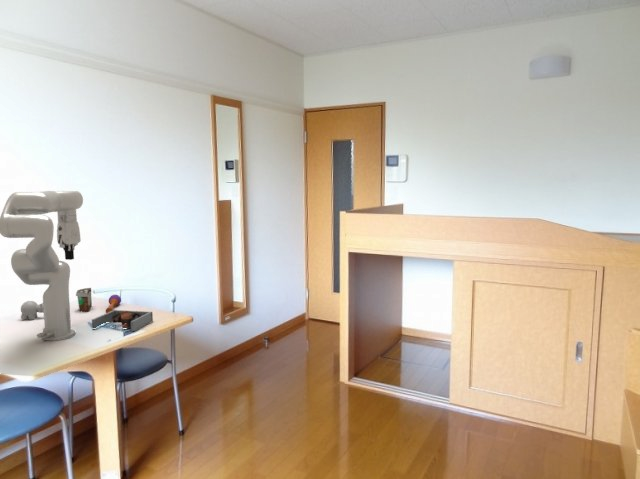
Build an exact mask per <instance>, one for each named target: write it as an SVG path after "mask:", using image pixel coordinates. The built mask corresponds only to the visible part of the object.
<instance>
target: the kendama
mask: <svg viewBox="0 0 640 479" xmlns="http://www.w3.org/2000/svg"><path fill="white" fill-rule="evenodd" d="M121 302H122V298H121V296H120V295H118V294H112V295H110V297H109V298H108V304H109V306H108V307H107V308H106V309H105V314H106V313H108V312H110V311H113V310H114V308H115V307H118V306H119V305H120V304H121Z"/></svg>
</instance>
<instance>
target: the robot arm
mask: <svg viewBox="0 0 640 479" xmlns="http://www.w3.org/2000/svg"><path fill="white" fill-rule="evenodd" d="M83 204H84V198H83V195H82V193H81V192H80V191H77V190H45V191H16V192H13V193H11V194H10V196H8V198H7V200H6V202H5V204H4V207H3V209H2V212H1V214H0V235H1V236H2V237H4V238H8V239H17V238H18V239H23V238H24V239H26V238H27V239H28V238H29V239H30V238H32V239H31V240H30V242H29V243H28V244H27V245H26V246H25V248H21V249H16V250H15V251H14V252H13V253H12V256H11V258H10V266H11V269H12V271H13V273H15V275H16V276H17V277H18V278H19V279H20V281H22V283H24V284H25V285H29V286H36V285H37V286H39V285H40V286H42V285H43V286H44V285H48V286H47V288H46V290H45V291H44V292H43V294H42V303H43V310H44V313H43V321H44V323H43V325H44V327H43V328H42V331H41V332H38V333H37V334H36V337H37V339H41V340H44V341H59V340H64V339H68V338H69V339H70V338H73V336H75V334H76V330H75V329H73V328H72V324H71V321H72V320H71V305H70V287H69V286H70V278H71V277H70V275H71V268H70V265H69V263H67V262H66V261H63V260H60V259H59V256H58V255H57V253H56V251H55V250H54V248H53V247H52V244H53V240H54V233H55V232H54V223H53V219H51V218H50V217H49V216H47V215H46V214H49V213H55V212H56V213H57V229H56V239H57V240H56V242H57V244H58V246H59V248H61V249H63V251H64V257H65V258H64V259H65V260H68V261H69V260H70V261H72V260H74V259H75V254H74V251H75V247H76V246H78V245H79V244H80V242H81V232H80V231H81V230H80V226H79V223H78V220H77V219H78V218H77V210H78V209H80V208H82V205H83Z"/></svg>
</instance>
